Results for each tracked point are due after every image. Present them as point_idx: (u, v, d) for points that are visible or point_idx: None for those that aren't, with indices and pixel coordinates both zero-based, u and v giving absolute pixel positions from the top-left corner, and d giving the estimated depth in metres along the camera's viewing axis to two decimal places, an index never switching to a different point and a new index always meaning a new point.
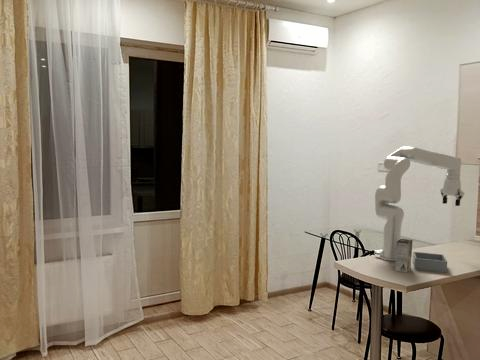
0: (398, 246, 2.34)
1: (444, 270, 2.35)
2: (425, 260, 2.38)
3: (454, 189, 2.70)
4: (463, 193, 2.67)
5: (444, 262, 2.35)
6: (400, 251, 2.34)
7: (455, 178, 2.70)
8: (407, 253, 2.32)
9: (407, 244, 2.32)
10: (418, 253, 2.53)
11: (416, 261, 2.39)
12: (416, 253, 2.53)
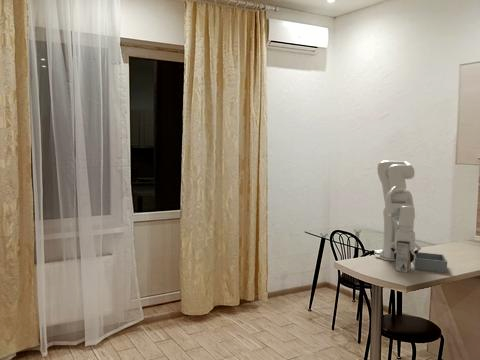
0: (398, 246, 2.34)
1: (444, 270, 2.35)
2: (425, 260, 2.38)
3: (413, 243, 2.33)
4: (420, 248, 2.34)
5: (444, 262, 2.35)
6: (400, 251, 2.34)
7: (412, 230, 2.34)
8: (407, 253, 2.32)
9: (407, 244, 2.32)
10: (418, 253, 2.53)
11: (416, 261, 2.39)
12: (416, 253, 2.53)
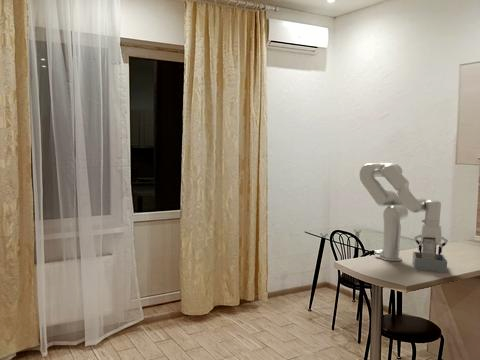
0: (424, 242, 2.41)
1: (444, 270, 2.35)
2: (425, 260, 2.38)
3: (439, 237, 2.40)
4: (447, 240, 2.41)
5: (444, 262, 2.35)
6: (427, 247, 2.41)
7: (438, 224, 2.41)
8: (433, 249, 2.39)
9: (433, 240, 2.39)
10: (418, 253, 2.53)
11: (416, 261, 2.39)
12: (416, 253, 2.53)
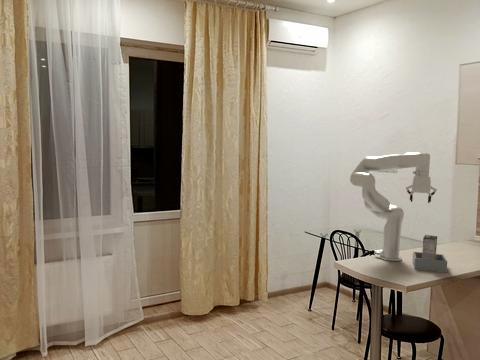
0: (424, 242, 2.41)
1: (444, 270, 2.35)
2: (425, 260, 2.38)
3: (428, 186, 2.60)
4: (436, 189, 2.61)
5: (444, 262, 2.35)
6: (427, 247, 2.41)
7: (428, 175, 2.61)
8: (433, 249, 2.39)
9: (433, 240, 2.39)
10: (418, 253, 2.53)
11: (416, 261, 2.39)
12: (416, 253, 2.53)
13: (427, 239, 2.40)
